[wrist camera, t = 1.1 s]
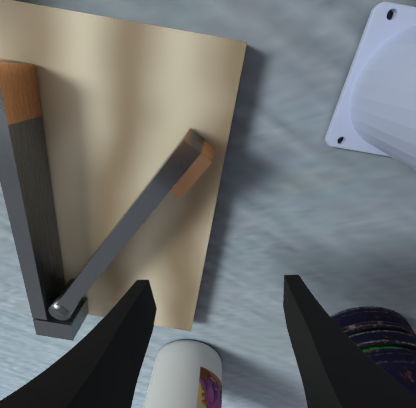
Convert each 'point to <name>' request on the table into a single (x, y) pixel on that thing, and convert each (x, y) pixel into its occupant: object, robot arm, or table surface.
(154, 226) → the board
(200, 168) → the arm
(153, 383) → the milk bottle
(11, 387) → the table surface
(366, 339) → the storage jar
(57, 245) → the tongs fixed arm
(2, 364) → the table surface
